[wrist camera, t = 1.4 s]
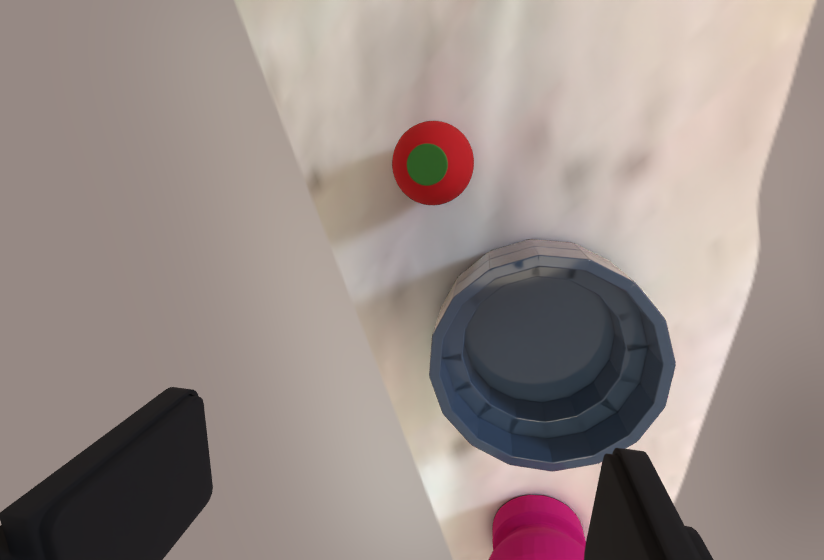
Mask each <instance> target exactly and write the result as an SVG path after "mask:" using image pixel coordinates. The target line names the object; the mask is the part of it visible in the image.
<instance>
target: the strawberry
mask: <svg viewBox="0 0 824 560" xmlns="http://www.w3.org/2000/svg"><path fill="white" fill-rule="evenodd" d="M473 167H474V158H473V152H472V149H471V146H470V144H469V142H468V140H467V139H466V137H465V136H464V135H463V134H462V133H461V132H460V131H459V130H458V129H457V128H455V127H454V126H452V125H450V124H448V123H444V122H440V121H427V122H423V123H419V124H417V125H415V126H413V127H412V128H410V129H409V130H408V131H406V132H405V133H404V134H403V136H402V137H401V138H400V140H399V141H398V143H397V145H396V147H395V150H394V154H393V160H392V168H393V174H394V177H395V180H396V182H397V184H398V186H399V187H400V189H401V190H402V191H403V192H404V193H405V194H406V195H407V196H408V197H409V198H411V199H412V200H414V201H416V202H418V203H421V204H425V205H440V204H444V203H447V202H449V201H451V200H453V199H455V198H456V197H457V196H459V195H460V194H461V193H462V192H463V191H464V189H465V188H466V187H467V185H468V183H469V181H470V179H471V176H472V173H473Z"/></svg>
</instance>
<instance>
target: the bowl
mask: <svg viewBox="0 0 824 560" xmlns="http://www.w3.org/2000/svg"><path fill="white" fill-rule="evenodd" d="M675 363H676V362H675V358H674V354H673V349H672V345H671V340H670V336H669V332H668V327H667V323H666V320H665V318H664V317H663V316H662V314H661V313H660V312H659V311H658V309H657V308H656V307H655V306H654V305H653V303H652V302H651V301H650V300H649V298H648V297H647V296H646V295H645V293H644V292H643V291H642V290H641V289H640V287H639V286H638V285H637V284H636V283H635V282H634V281H633V280H632V279H631V278H629V277H628V276H627V275H626V274H625V273H624V272H622V271H621V270H620V269H619V268H618V267H616V266H615V265H614V264H613V263H612V262H611V261H609V260H607V259H605V258H603V257H601V256H599V255H597V254H595V253H593V252H591V251H589V250H587V249H585V248H583V247H581V246H579V245H577V244H575V243H572V242H560V241H548V240H536V239H528V240H525V241H521V242H518V243H515V244H511V245H508V246H505V247H501V248H498V249H495V250H491V251H490V252H488V253H487V254H485V255H484V256H483V257H482V258H480V259H479V260H478V261H477V262H475V263H474V264H473V265H471V266H470V267H469V268H468V269H466V270H465V271H464V272H463V273H461V274H460V275H459V277H457V279H456V281H455V283H454V285H453V286H452V288H451V290H450V292H449V294H448V296H447V298H446V299H445V301H444V303H443V305H442V307H441V309H440V312H439V316H438V319H437V322H436V325H435V328H434V332H433V335H432V344H431V358H430V371H429V376H430V380H431V382H432V385H433V388H434V391H435V394H436V396H437V399H438V402H439V405H440V407H441V410H442V413H443V414H444V416H445V417H446V418H447V419H448V420H449V421H450V422H451V423H452V424H453V425H454V427H455V428H456V429H457V430H458V431H459V432H460V433H461V434H462V435H463V436H464V438H465V439H466V440H467V441H468V442H469V443H470V444H471V445H472V446H474V447H476V448H478V449H480V450H482V451H484V452H486V453H488V454H490V455H491V456H493V457H495V458H497V459H499V460H501V461H503V462H505V463H507V464H509V465H514V466H520V467H527V468H533V469H540V470H546V471H559V470H564V469H570V468H576V467H582V466H588V465H594V464H597V463H598V464H599V463H600V462H602V461H603V457H604V455H605V454H606V453H607V454H612V453H613V451H614V449H615V448H623V449H625V448H627V447H629V446H631V445H633V444H634V443H636V442H637V441H638V440H639V439H640V438H641V437H642V435H643V434H644V433H645V432H646V430H647V429H648V428H649V427H650V425H651V424H652V423H653V422H654V420H655V419H656V418H657V417H658V416H659V414H660V413H661V412H662V411H663V409H664V408H665V406H666V402H667V398H668V394H669V390H670V386H671V382H672V378H673V374H674V370H675V366H676V365H675Z"/></svg>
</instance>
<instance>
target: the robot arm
mask: <svg viewBox="0 0 824 560" xmlns="http://www.w3.org/2000/svg"><path fill="white" fill-rule="evenodd" d="M212 489H213V485H212V476H211V468H210V457H209V448H208V440H207V430H206V421H205V413H204V403H203V400H202V398H201V397H198V394H197V392H196V391H194V390H191V389H184V388H176V387H170V388H168V389H166V390H165V391H163V392H162V393H161V394H159V395H158V396H157V397H155V398H154V399H153V400H151V401H150V402H148V403H147V404H146V405H145V406H143V407H142V408H140V409H139V410H138V411H136V412H135V413H134V414H132V415H131V416H130V417H128V418H127V419H126V420H124V421H123V422H122V423H120V424H119V425H118V426H116V427H115V428H114V429H112V430H111V431H109V432H108V433H107V434H105V435H104V436H103V437H101V438H100V439H99V440H97V441H96V442H95V443H93V444H92V445H91V446H89V447H88V448H87V449H85V450H84V451H82V452H81V453H80V454H78V455H77V456H76V457H74V458H73V459H72V460H70V461H69V462H68V463H66V464H65V465H64V466H62V467H61V468H60V469H58V470H57V471H55V472H54V473H53V474H51V475H50V476H49V477H47V478H46V479H45V480H43V481H42V482H41V483H40V484H38V485H37V486H35V487H34V488H33V489H31V490H30V491H29V492H28V493H26V494H25V495H23V496H22V497H21V498H19V499H18V500H17V501H15V502H14V503H12V504H11V505H10V506H8V507H7V508H6V509H4V510H3V511H2V512H0V521H1V524H2V525H1V526H0V560H163V558H164V557H165V556H166V554H167V553H168V552H169V551H170V550H171V548H172V547H173V546H174V544H175V543H176V542H177V541H178V540H179V538H180V537H181V536H182V534H183V533H184V532H185V530H186V529H187V528H188V527H189V526H190V524H191V523H192V522H193V521H194V519H195V518H196V517H197V516H198V514H199V513H200V512H201V511H202V509H203V508H204V507H205V506H206V504H207V503H208V501H209V499H210V497H211V494H212ZM584 560H713V558H712V556H711V555H710V553H709V551H708V549H707V547H706V545H705V544H704V542H703V540H702V538H701V537H700V535H699V534H698V532H697V531H696V530H694V529H693V528H692V527H687V526H684V524H683V522H682V520H681V518H680V516H679V514H678V512H677V511H676V509H675V506H674V505H673V503H672V501H671V499H670V497H669V495H668V493H667V491H666V489H665V487H664V485H663V483H662V482H661V480H660V478H659V476H658V474H657V472H656V470H655V468H654V466H653V464H652V462H651V460H650V458H649V457H648V455H647V454H646V452H644V451H637V450H630V449H623V448H615V449H614V451H613V453H612V454H607V453H606V454H605V455H604V457H603V461H602V466H601V471H600V476H599V481H598V486H597V491H596V496H595V501H594V506H593V511H592V516H591V521H590V526H589V531H588V536H587V541H586V546H585V551H584Z"/></svg>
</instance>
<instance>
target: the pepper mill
mask: <svg viewBox="0 0 824 560" xmlns="http://www.w3.org/2000/svg"><path fill="white" fill-rule="evenodd" d="M492 530H493V550H494V551H493V552H492V554H491V556H490V558H489V560H584V551H585V546H586V541H585V537H584V533H583V529H582V526H581V523H580V521H579V519H578V518H577V516H576V514H575V513H574V512H573V511H572V510H571V509H570V508H569V507H568V506H567V505H565V504H564V503H562V502H560V501H558V500H556V499H554V498H550V497H547V496H543V495H526V496H521V497H518V498H515V499H512V500H510V501H509V502H507V503H506V504H505V505H503V506H502V507H501V508H500V509H499V511H498V512H497V514H496V516H495V518H494V521H493V529H492Z"/></svg>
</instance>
